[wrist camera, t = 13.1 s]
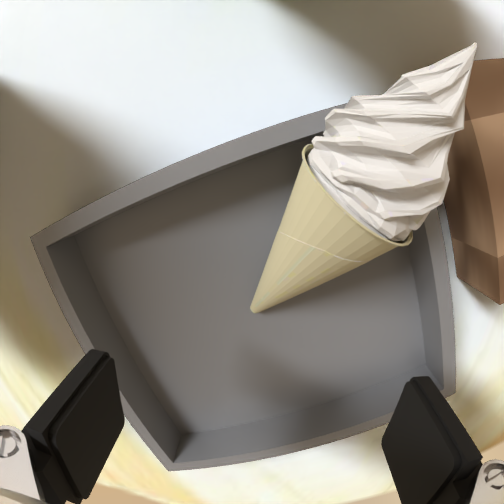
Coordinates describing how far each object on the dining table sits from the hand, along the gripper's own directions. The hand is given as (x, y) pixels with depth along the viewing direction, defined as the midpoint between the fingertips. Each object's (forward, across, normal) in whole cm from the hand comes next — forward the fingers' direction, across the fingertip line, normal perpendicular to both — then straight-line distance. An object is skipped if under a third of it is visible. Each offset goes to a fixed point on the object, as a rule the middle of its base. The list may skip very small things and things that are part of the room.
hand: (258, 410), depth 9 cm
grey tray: (+8, 0, 0) cm, 8 cm away
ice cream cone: (+7, 0, 0) cm, 7 cm away
